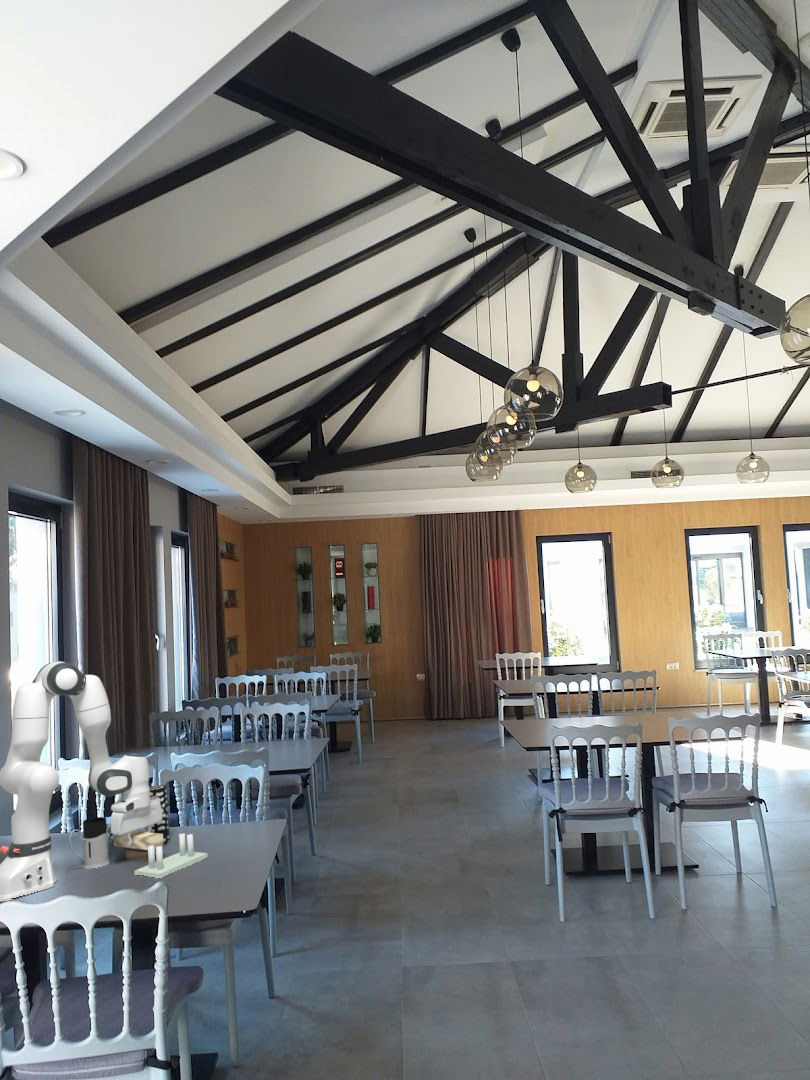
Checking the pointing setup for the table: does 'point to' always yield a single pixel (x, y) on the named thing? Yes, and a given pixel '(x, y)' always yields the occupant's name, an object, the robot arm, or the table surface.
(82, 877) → the table surface
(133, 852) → the riser
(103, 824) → the electric kettle
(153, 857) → the peg stand
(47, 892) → the table surface
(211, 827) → the table surface
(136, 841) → the plank
